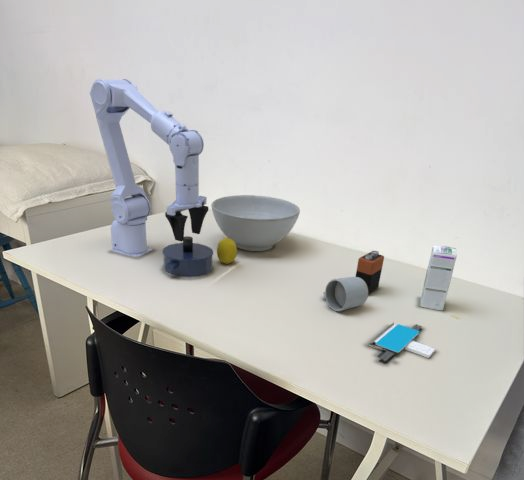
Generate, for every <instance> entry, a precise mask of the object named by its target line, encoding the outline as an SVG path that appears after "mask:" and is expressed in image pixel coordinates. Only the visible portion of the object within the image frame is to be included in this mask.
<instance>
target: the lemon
mask: <svg viewBox="0 0 524 480" xmlns="http://www.w3.org/2000/svg"><path fill="white" fill-rule="evenodd" d="M237 254H238V247H236V244H235V242H234V241H233V240H232V239H230V238H229V237H227V236H225V238H222V239H221V240H219V242H218V244H217V248H216V255H217V258H218V260H219V261H220V262H221V263H223V264H226V265H229V264H231V263H233V262H234V261H235V259H236V258H237Z"/></svg>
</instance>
